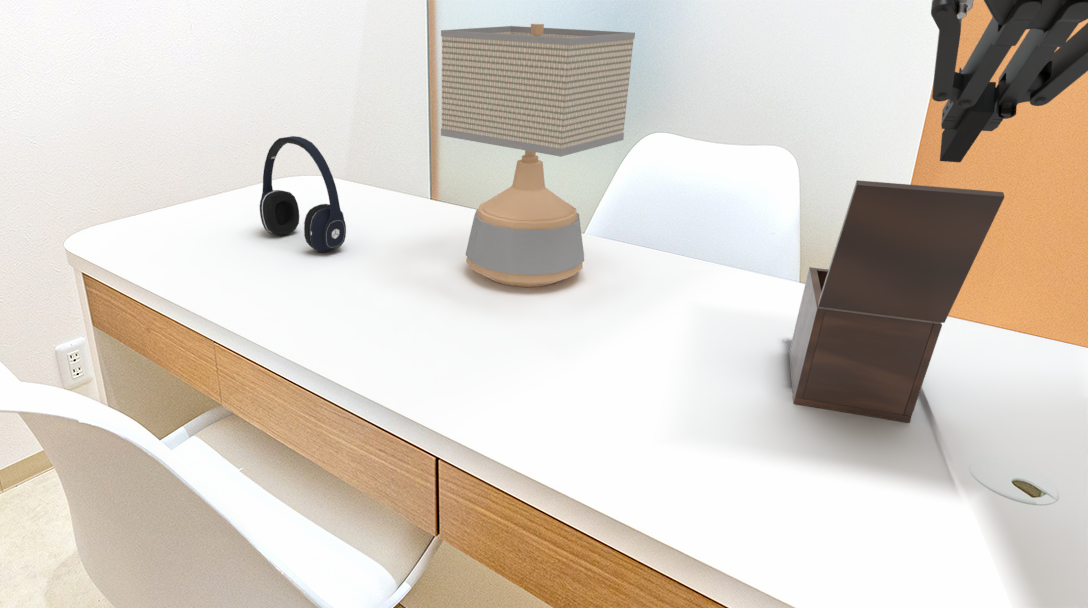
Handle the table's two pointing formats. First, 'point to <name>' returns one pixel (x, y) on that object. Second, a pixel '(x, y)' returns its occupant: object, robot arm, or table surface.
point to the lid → (907, 249)
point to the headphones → (282, 208)
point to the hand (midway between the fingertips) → (951, 147)
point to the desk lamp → (532, 134)
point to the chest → (858, 358)
